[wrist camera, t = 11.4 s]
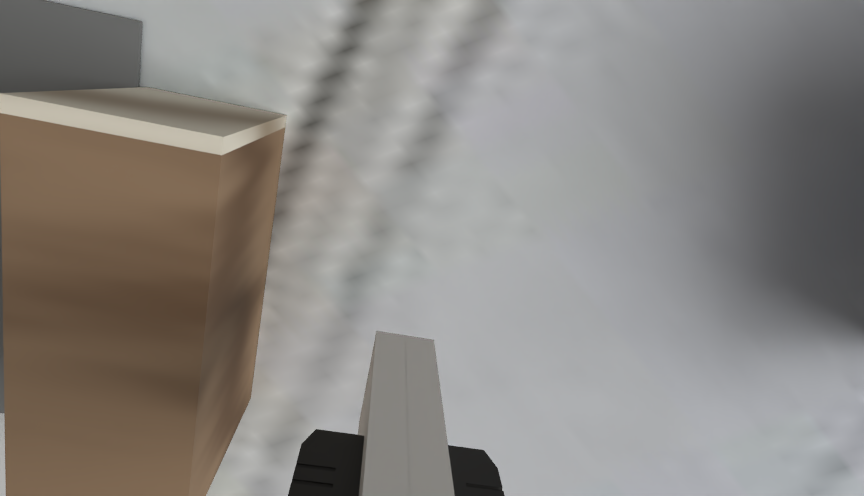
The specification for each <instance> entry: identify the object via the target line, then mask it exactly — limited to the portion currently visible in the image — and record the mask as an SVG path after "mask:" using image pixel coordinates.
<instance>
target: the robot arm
mask: <svg viewBox="0 0 864 496" xmlns="http://www.w3.org/2000/svg"><path fill="white" fill-rule="evenodd" d="M288 496H504V492H503V491H502V484H501V480H500V476H499V472H498V468H497V467H496V466H495V464H494V463H493V462H492V460H491V459H490V458H489V456H488V455H487V454H486V453H485V451H484V450H478V449H471V448H464V447H456V446H449V445H448V442H447V435H446V427H445V420H444V413H443V405H442V398H441V390H440V383H439V375H438V368H437V360H436V353H435V345H434V340H431V339H425V338H418V337H412V336H406V335H399V334H393V333H387V332H380V331H376V337H375V342H374V347H373V352H372V358H371V363H370V368H369V374H368V379H367V384H366V389H365V395H364V400H363V405H362V410H361V416H360V421H359V429H358V435H355V434H347V433H340V432H333V431H325V430H318V429H316V430H315V431H314V432H313V433H312V434H311V435H310V436H309V437H308V438H307V439H306V440H305V441H304V442H303V443H302V445H301V448H300V452H299V456H298V460H297V464H296V467H295V471H294V475H293V479H292V483H291V486H290V490H289V494H288Z"/></svg>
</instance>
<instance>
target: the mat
mask: <svg viewBox="0 0 864 496" xmlns="http://www.w3.org/2000/svg"><path fill="white" fill-rule="evenodd" d="M141 42H142V21H137V20H132V19H128V18H123V17H118V16H114V15H109V14H104V13H100V12H95V11H90V10H86V9H81V8H76V7H72V6H67V5H62V4H58V3H53V2H49V1H44V0H0V93H15V92H39V91H64V90H88V89H113V88H137V87H139V80H140V61H141ZM0 413H5V408H4V348H3V287H2V226H1V165H0Z"/></svg>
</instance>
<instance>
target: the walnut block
mask: <svg viewBox="0 0 864 496" xmlns="http://www.w3.org/2000/svg"><path fill="white" fill-rule="evenodd" d="M286 117H287V115H283V114H278V113H273V112H268V111H263V110H258V109H253V108H248V107H244V106H239V105H234V104H229V103H224V102H219V101H214V100H209V99H204V98H199V97H194V96H189V95H184V94H179V93H174V92H169V91H165V90H160V89H155V88H150V87H137V88H113V89H88V90H64V91H39V92H15V93H0V165H1V226H2V287H3V348H4V408H5V469H6V496H206V494H207V492H208V490H209V488H210V485H211V483H212V481H213V479H214V477H215V474H216V472H217V470H218V468H219V466H220V464H221V461H222V459H223V457H224V455H225V453H226V451H227V448H228V446H229V444H230V442H231V440H232V438H233V435H234V433H235V431H236V429H237V427H238V425H239V422H240V420H241V418H242V416H243V414H244V412H245V409H246V407H247V405H248V403H249V401H250V398H251V391H252V383H253V375H254V367H255V360H256V352H257V344H258V336H259V328H260V321H261V313H262V305H263V297H264V289H265V281H266V274H267V266H268V258H269V250H270V242H271V235H272V227H273V219H274V211H275V203H276V195H277V188H278V180H279V172H280V164H281V156H282V149H283V141H284V133H285V125H286Z"/></svg>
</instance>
